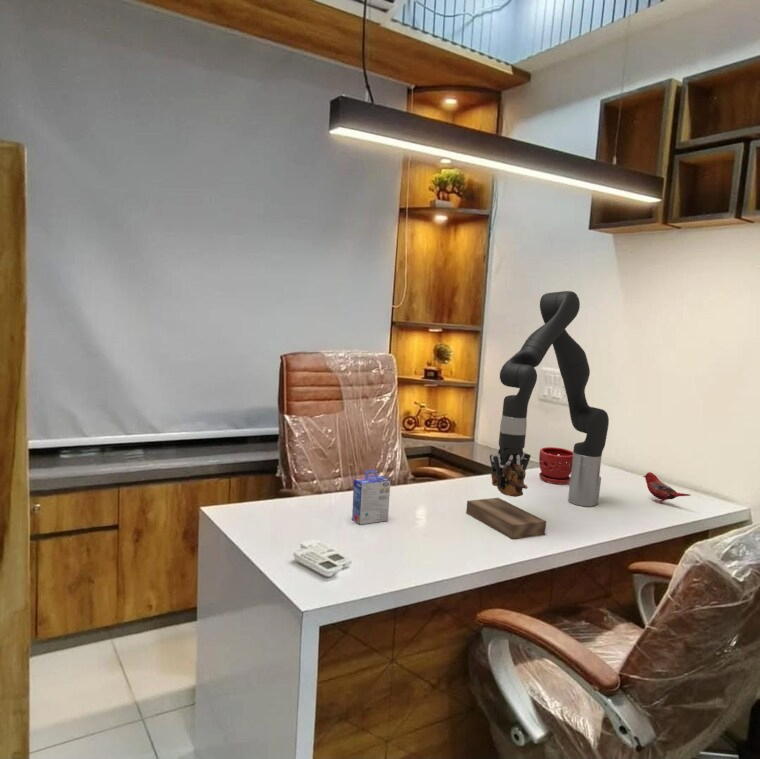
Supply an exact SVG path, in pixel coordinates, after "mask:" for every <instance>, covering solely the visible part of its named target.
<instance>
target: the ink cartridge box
mask: <svg viewBox="0 0 760 759" xmlns="http://www.w3.org/2000/svg"><path fill="white" fill-rule="evenodd" d="M364 473H365V474H364V475H365V477H362V478H355V479H353V492H352V493H353V494H352V514H351V520H352V521H354V522H355V523H356V524H358V525H367V524H374V523H381V522H387V521H389V513H390V512H389V510H390V509H389V508H390V496H391V493H390V492H391V480H390V479H389V478H387V477H385V476H383V475H381V476H379V475H377V471H376V469H370V470H364ZM370 473H373V474H371V475H368V474H370Z"/></svg>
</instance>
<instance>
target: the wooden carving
mask: <svg viewBox="0 0 760 759" xmlns="http://www.w3.org/2000/svg"><path fill="white" fill-rule="evenodd" d="M503 465H504V464H503ZM504 466H505V465H504ZM522 467H523V466H522ZM522 467H521V466H520V465H519V464H514V463H513V464H512V465H510V466H509V469H508V470H506V475H505V477H506V479H505V488H504V489H500V488H499V487H498V485H497V483H498V475H497V474H494V473H493V472H492V471H491V472H490V474H491V475H490V476H491V485H492V486H494V487H497V490H498V491H499V492H500V494H503V495H505V496H509V497H514V498H515V497H517V498H518V497H521V496H523V495H524V493H523V489H525V490H526V489H527V490H528V485H527V484H525V482H524V481H525V478H526V474H527V473H526V471H525V470H523V468H522ZM502 471H503V470H502Z"/></svg>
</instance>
